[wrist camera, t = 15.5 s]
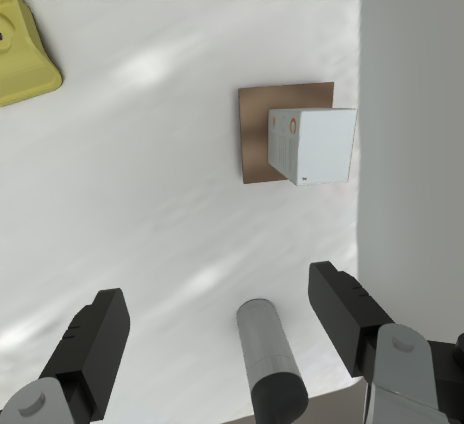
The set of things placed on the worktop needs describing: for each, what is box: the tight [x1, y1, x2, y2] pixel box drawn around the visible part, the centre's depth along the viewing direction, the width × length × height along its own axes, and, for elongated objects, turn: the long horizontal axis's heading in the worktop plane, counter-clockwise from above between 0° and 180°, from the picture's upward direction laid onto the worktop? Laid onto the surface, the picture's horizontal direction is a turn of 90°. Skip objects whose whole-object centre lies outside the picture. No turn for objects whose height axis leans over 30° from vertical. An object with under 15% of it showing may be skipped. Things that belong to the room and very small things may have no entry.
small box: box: [268, 108, 357, 186], centre depth 34 cm, size 8×6×13 cm
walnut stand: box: [238, 82, 334, 184], centre depth 42 cm, size 14×14×5 cm
